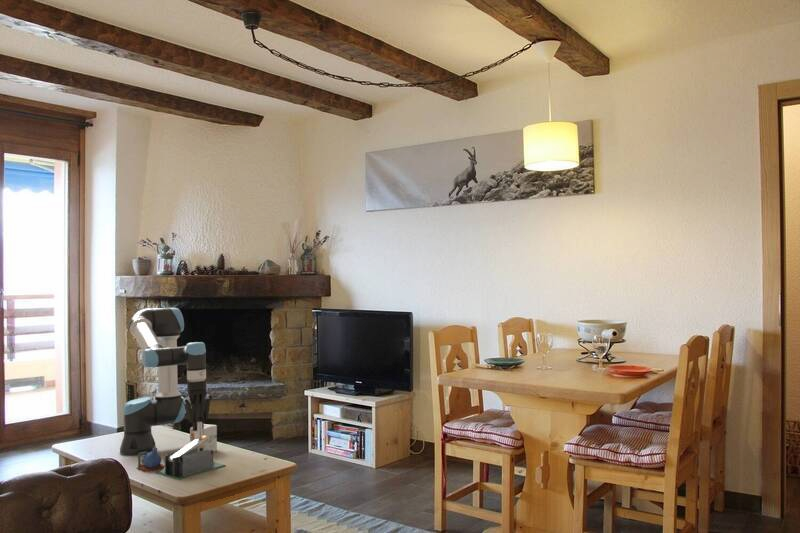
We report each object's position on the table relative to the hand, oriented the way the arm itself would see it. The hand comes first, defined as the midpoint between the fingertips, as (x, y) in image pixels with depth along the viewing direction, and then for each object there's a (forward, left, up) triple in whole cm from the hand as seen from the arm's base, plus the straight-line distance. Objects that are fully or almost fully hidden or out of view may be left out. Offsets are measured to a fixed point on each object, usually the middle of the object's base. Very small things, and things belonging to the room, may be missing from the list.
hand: (198, 438), depth 268 cm
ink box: (-21, +17, -13) cm, 30 cm away
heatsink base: (-1, -3, -12) cm, 13 cm away
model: (-18, -10, -13) cm, 25 cm away
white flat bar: (-1, -5, -4) cm, 6 cm away
